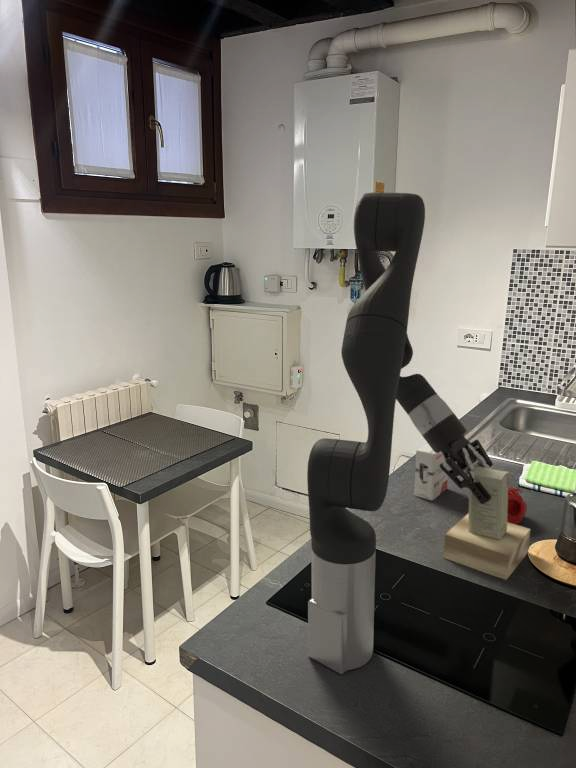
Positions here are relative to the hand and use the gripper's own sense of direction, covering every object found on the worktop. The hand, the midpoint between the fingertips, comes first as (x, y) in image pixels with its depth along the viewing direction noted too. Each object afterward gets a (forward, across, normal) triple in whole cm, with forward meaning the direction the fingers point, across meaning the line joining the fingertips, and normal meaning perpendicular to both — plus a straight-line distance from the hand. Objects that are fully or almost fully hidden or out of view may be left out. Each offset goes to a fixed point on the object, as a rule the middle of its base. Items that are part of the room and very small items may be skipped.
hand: (492, 495), depth 109 cm
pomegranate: (+7, +16, +11) cm, 21 cm away
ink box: (-6, +19, +24) cm, 31 cm away
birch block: (+9, 0, +9) cm, 13 cm away
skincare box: (+5, 0, +6) cm, 8 cm away
